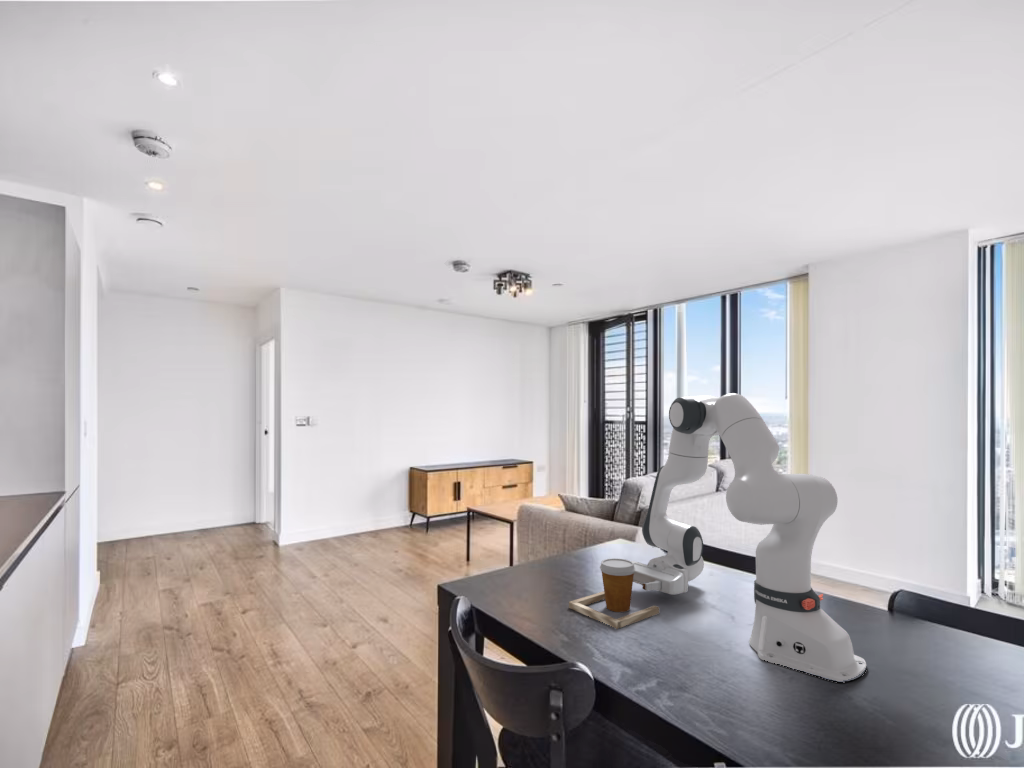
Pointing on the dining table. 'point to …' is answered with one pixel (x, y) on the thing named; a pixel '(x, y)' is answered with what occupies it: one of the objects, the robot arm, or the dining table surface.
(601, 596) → the cup bay
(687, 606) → the dining table surface
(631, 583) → the disposable coffee cup
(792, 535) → the robot arm
